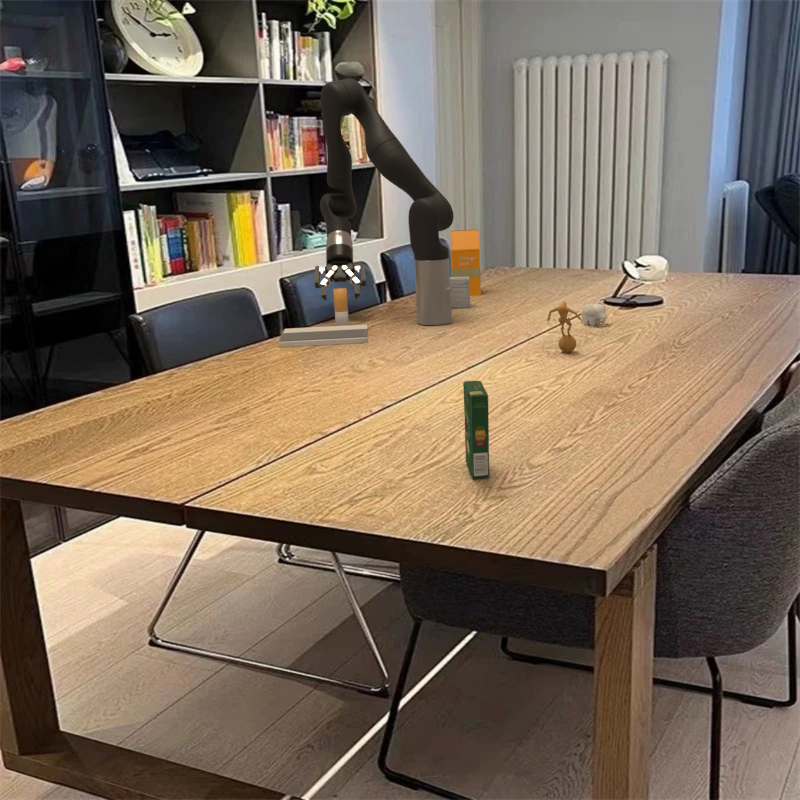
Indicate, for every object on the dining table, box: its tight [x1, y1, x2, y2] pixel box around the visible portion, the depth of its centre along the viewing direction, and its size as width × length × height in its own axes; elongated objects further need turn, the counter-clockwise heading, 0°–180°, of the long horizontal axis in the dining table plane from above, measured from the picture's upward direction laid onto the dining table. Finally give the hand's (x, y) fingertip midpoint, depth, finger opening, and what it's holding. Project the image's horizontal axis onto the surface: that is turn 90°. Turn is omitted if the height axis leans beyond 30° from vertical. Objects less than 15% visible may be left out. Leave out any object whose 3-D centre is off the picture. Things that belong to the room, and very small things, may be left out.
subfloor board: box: [278, 324, 369, 348], centre depth 248 cm, size 22×18×1 cm
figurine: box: [547, 301, 584, 353], centre depth 216 cm, size 8×6×12 cm
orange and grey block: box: [332, 287, 350, 326], centre depth 262 cm, size 4×4×10 cm
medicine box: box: [450, 276, 471, 309], centre depth 281 cm, size 8×4×9 cm, turn 84°
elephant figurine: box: [580, 300, 609, 327], centre depth 246 cm, size 7×8×6 cm
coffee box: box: [463, 380, 490, 480], centre depth 143 cm, size 8×3×13 cm, turn 3°
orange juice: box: [450, 229, 482, 297], centre depth 302 cm, size 8×9×20 cm
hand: (340, 297), depth 264 cm, fingers open, 8 cm apart
